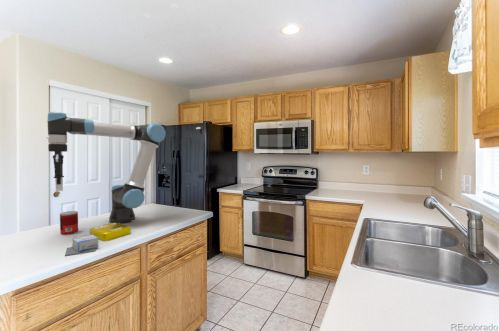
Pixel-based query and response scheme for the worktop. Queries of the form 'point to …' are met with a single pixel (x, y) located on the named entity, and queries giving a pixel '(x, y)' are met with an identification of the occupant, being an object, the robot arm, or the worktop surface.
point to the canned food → (68, 222)
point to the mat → (73, 252)
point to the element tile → (110, 231)
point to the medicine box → (84, 242)
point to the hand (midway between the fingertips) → (59, 190)
